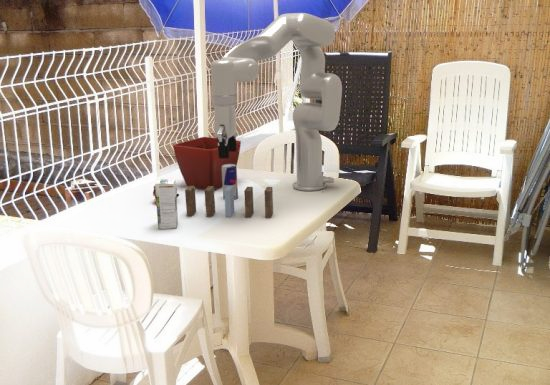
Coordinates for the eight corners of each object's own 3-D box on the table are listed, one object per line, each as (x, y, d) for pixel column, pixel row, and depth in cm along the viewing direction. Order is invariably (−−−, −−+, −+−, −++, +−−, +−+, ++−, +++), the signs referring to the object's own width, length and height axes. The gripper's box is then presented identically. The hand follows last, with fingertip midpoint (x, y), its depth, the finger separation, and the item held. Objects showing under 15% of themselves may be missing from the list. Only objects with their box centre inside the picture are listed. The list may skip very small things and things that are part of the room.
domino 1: (196, 211, 197) (194, 186, 195) (192, 216, 192) (190, 190, 190) (191, 211, 197) (189, 185, 195) (186, 216, 193) (184, 190, 190)
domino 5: (273, 213, 193) (272, 186, 191) (270, 218, 189) (270, 191, 186) (267, 213, 194) (266, 186, 191) (265, 218, 189) (264, 191, 186)
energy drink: (235, 200, 209) (234, 167, 205) (221, 199, 210) (219, 167, 206) (239, 196, 214) (238, 163, 210) (225, 195, 215) (223, 163, 211)
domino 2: (215, 212, 196) (213, 186, 194) (211, 217, 191) (210, 190, 189) (210, 212, 196) (208, 186, 194) (206, 216, 192) (204, 190, 189)
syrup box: (160, 223, 187) (156, 179, 182) (178, 222, 187) (175, 178, 183) (158, 229, 181) (154, 184, 177) (177, 228, 181) (173, 183, 177)
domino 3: (225, 217, 191) (224, 190, 188) (229, 212, 195) (227, 186, 193) (231, 217, 190) (229, 190, 188) (234, 212, 195) (233, 186, 193)
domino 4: (253, 212, 194) (252, 186, 192) (250, 217, 189) (249, 190, 187) (248, 212, 194) (247, 186, 192) (245, 217, 190) (244, 190, 187)
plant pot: (244, 182, 232) (242, 140, 227) (214, 194, 217) (211, 149, 212) (206, 176, 242) (203, 136, 237) (174, 188, 227) (171, 145, 222)
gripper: (220, 97, 191) (223, 148, 196) (205, 104, 175) (208, 160, 180) (243, 97, 190) (245, 149, 195) (229, 104, 174) (232, 161, 178)
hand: (227, 154), depth 187 cm, fingers open, 9 cm apart
